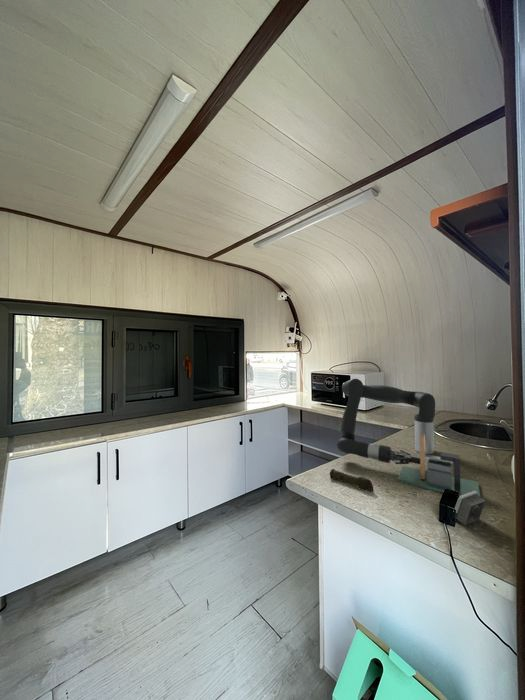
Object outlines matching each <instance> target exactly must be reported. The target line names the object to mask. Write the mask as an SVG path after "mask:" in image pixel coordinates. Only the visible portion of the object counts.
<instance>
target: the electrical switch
mask: <svg viewBox="0 0 525 700" xmlns="http://www.w3.org/2000/svg"><path fill="white" fill-rule="evenodd" d="M456 500H457V501H456V503H455V506H454V509H455V510H456V513H457V517H456V519H457V520H456V521H458V522H459V523H461V524H462V525H464V526H468V525H469V524H472V523H473V522H476V521H478V520H480V518H481V515H482V513H483V509H484V506H485V504H486V499H484V498H482V497H481V495H480V496H478V492H476V491H472V492H469V493H467V494H464V495H461V496H459V497H458V498H457V499H456Z"/></svg>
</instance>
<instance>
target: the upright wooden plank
mask: <svg viewBox="0 0 525 700" xmlns="http://www.w3.org/2000/svg"><path fill="white" fill-rule="evenodd" d="M419 458H420V464H419V466H420V469H419V470H420V473H421V479H425V476H426V471H427V463H426V461H427V460H434V461H439V462H445V463H450V464H451V465H454V462H452V461H446V460H441V458H440V456H437V455H432V454H425V434H422V433H421V435H420V452H419Z"/></svg>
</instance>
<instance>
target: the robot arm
mask: <svg viewBox="0 0 525 700" xmlns="http://www.w3.org/2000/svg"><path fill="white" fill-rule="evenodd" d="M341 391H342V393H343V394H344V395H345V396H346V397H348V398H347V399H348V400H347V404H346V407H345V409H344V412H343V415H342V418H341V426H340V431H341V434H342V435H341V438H339V439H338V440H337V442H336V447H337V449H338V450H339V451H340V452H342V453H344V454H347V455H350V454H351V455H355V456H358V457H361V458H366V459H370V460H373V461H377V462H381V463H385V464H390V463H391V461H392V462H395V463H394V464H396V465H409V464H411V463H412V464H417V465H420V457H415V456H412V455H411V453H408V452H406V451H404V450H403V449H401V450H400V449H399V450H392V447H391V446H388V445H383V444H377V443H369V442H365V441H364V442H363V441H357V440H356V437H355V429H356V426H357V425H356V424H357V415H358V410H359V406H360V403H361V399H364V398H365V399H369V400H374V401H377V402H383V403H389V404H406V405H408V406H409V405H410V406H413V407H416V408H419V409H418V413H416V414H414V417H413V418H414V419H413V420H414V449H415V450H414V451H416V452H417V453H420V435H421V433H422V434H425V454H427V455H432V454H434V453H435V440H434V438H435V435H434V434H435V433H434V432H435V431H434V430H435V429H434V419H435V416H436V399H435V397H434V395H433V394H431V393H427V392H423V391H411V390H403V389H401V388H398V387H394V386H389V385H382V384H380V385H379V384H377V385H376V384H371V385H368V384H367V385H366V384H363V382H362V380H360V379H359V378H351V379H349V380H347V381H345V382H344V383H343V384H342V385H341Z"/></svg>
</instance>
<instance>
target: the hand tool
mask: <svg viewBox="0 0 525 700" xmlns="http://www.w3.org/2000/svg"><path fill="white" fill-rule="evenodd" d="M329 478H330V479H333V480H338V481H341V482H343V483H347V484H350V485H352V486H356V487H357V488H358V489H359V488H360V489H359V490H362V489H363V491H366V490H367V492H374V485H373V483H372V482H371V479H369V478H366V477H364V476H359V477H357V476H354V475H352V474H351V475H350V474H347V473H345V472H341V471H339V470H336V469H335V468H333V469H331V470H330V471H329Z"/></svg>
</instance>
